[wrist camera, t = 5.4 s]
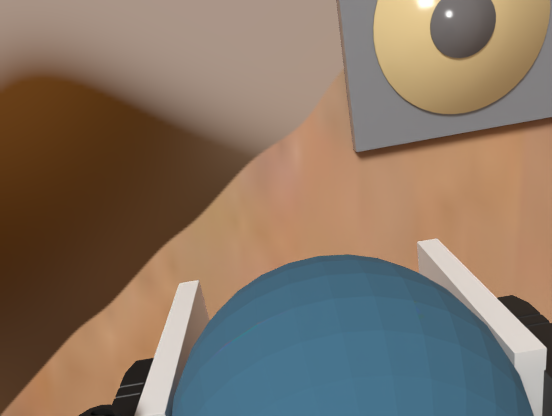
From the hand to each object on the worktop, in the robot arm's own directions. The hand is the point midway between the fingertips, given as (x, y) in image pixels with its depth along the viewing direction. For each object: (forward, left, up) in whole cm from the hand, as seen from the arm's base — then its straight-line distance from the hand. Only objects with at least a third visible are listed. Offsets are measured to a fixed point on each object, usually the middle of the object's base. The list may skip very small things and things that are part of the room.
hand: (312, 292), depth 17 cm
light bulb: (0, 0, -2) cm, 2 cm away
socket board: (+14, +9, -18) cm, 24 cm away
